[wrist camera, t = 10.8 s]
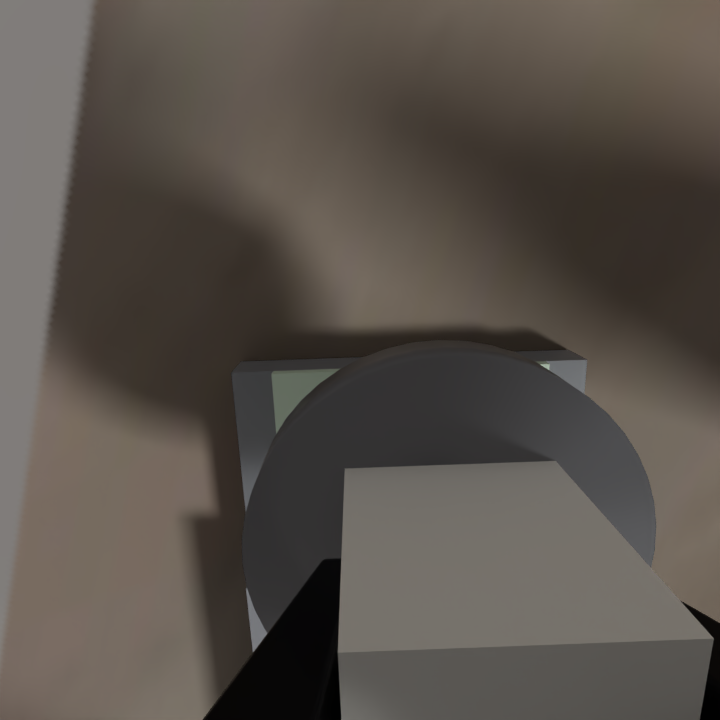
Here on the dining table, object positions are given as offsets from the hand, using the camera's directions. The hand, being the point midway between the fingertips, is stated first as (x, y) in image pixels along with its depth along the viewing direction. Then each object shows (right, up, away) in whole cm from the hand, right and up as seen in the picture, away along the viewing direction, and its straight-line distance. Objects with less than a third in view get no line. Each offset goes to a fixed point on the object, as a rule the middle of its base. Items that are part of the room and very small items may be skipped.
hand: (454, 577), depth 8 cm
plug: (0, 0, +2) cm, 2 cm away
